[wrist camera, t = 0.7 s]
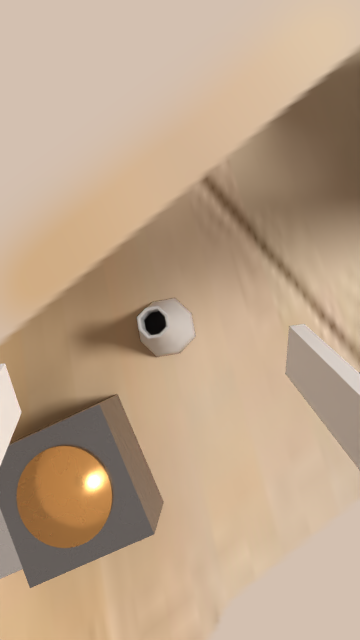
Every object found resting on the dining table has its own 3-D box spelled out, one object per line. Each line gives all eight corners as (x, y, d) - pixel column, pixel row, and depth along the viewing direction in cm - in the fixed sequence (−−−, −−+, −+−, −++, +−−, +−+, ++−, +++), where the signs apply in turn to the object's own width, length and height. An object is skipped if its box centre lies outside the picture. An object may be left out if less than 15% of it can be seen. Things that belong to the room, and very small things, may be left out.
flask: (127, 315, 43) (103, 307, 33) (178, 288, 43) (168, 271, 33) (154, 366, 42) (137, 373, 33) (205, 339, 42) (204, 337, 32)
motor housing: (117, 394, 43) (98, 404, 35) (163, 502, 41) (153, 536, 34) (-38, 465, 44) (-88, 489, 36) (2, 572, 42) (-42, 621, 35)
